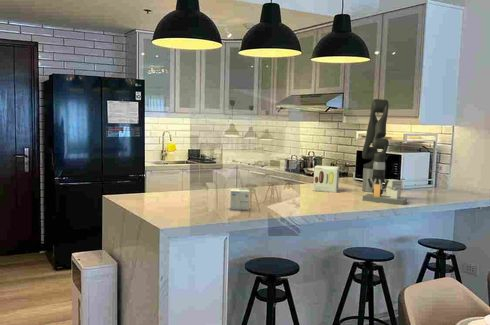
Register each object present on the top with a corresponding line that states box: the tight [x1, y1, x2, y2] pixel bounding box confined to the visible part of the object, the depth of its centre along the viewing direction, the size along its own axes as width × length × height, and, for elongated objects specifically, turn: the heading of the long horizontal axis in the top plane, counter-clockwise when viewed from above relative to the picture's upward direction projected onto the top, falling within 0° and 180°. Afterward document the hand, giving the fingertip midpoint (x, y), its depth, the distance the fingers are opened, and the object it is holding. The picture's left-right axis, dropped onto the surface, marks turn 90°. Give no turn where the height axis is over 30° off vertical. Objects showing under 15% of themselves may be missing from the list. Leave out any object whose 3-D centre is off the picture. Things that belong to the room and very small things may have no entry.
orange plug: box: [374, 183, 381, 197], centre depth 318 cm, size 4×4×12 cm
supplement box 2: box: [385, 178, 402, 197], centre depth 332 cm, size 7×7×13 cm
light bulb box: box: [229, 189, 250, 211], centre depth 274 cm, size 11×7×11 cm, turn 92°
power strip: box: [362, 187, 408, 206], centre depth 316 cm, size 12×26×10 cm, turn 60°
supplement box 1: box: [312, 164, 340, 194], centre depth 356 cm, size 17×13×18 cm
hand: (377, 194), depth 319 cm, fingers closed on orange plug, 3 cm apart
